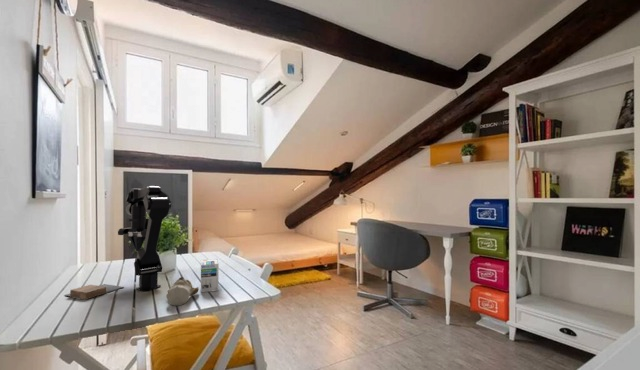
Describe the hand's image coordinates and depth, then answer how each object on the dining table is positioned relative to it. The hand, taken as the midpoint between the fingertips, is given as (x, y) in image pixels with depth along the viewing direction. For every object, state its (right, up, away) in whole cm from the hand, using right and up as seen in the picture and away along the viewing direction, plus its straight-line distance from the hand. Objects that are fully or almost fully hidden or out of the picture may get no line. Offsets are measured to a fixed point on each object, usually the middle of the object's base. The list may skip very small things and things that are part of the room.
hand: (138, 251), depth 129 cm
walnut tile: (-3, -11, -21) cm, 24 cm away
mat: (-7, -12, -15) cm, 21 cm away
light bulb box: (+36, -13, -10) cm, 39 cm away
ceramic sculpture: (+31, -12, -25) cm, 41 cm away
